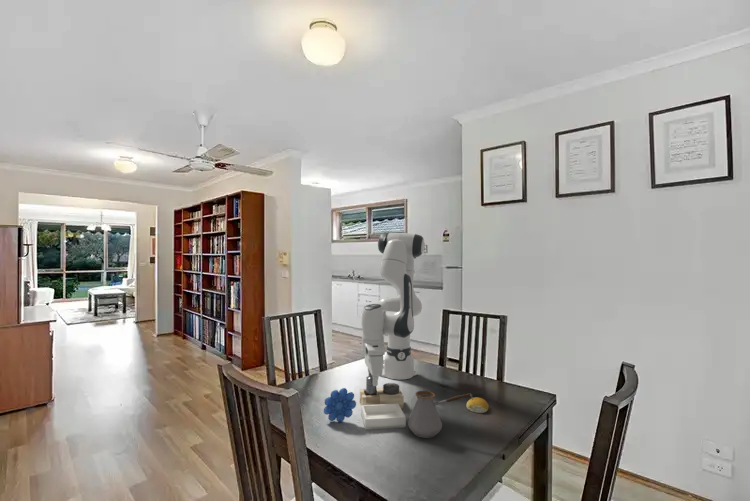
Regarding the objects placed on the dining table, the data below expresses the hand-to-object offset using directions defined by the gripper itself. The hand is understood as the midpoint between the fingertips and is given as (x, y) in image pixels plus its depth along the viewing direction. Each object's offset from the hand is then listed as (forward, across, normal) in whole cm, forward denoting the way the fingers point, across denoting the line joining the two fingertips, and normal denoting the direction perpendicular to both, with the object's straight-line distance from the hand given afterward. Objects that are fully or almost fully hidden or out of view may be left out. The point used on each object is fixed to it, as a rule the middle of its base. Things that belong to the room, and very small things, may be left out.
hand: (372, 381), depth 146 cm
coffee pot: (+11, +26, +18) cm, 33 cm away
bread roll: (+11, +8, +40) cm, 42 cm away
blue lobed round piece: (+10, +11, -14) cm, 20 cm away
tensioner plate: (+10, -1, +3) cm, 10 cm away
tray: (+10, +13, +1) cm, 16 cm away
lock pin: (+10, -1, -1) cm, 10 cm away
